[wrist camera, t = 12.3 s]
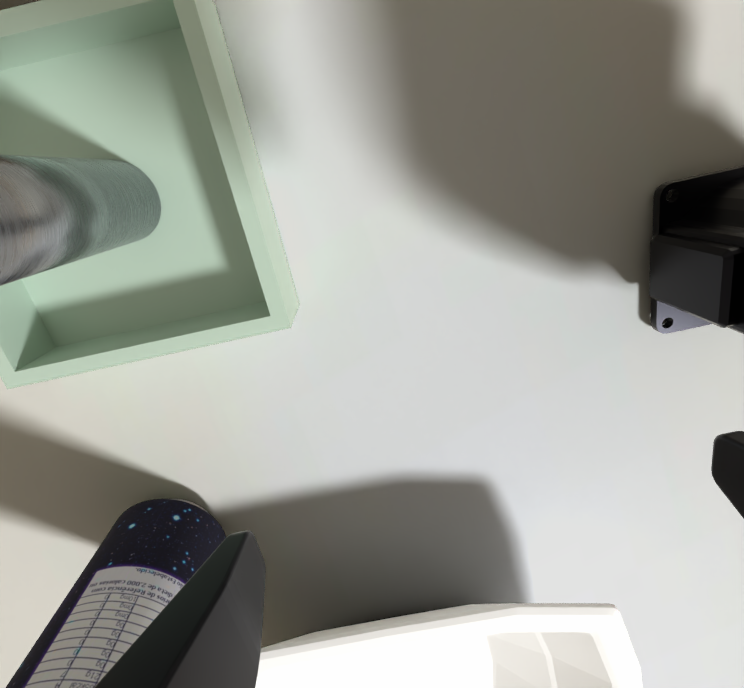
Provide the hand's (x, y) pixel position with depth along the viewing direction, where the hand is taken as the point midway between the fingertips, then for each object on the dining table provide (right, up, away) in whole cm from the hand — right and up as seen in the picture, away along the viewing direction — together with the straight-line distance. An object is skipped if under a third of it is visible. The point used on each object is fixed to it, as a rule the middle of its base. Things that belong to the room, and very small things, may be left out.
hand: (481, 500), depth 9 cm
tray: (-12, +9, +9) cm, 17 cm away
